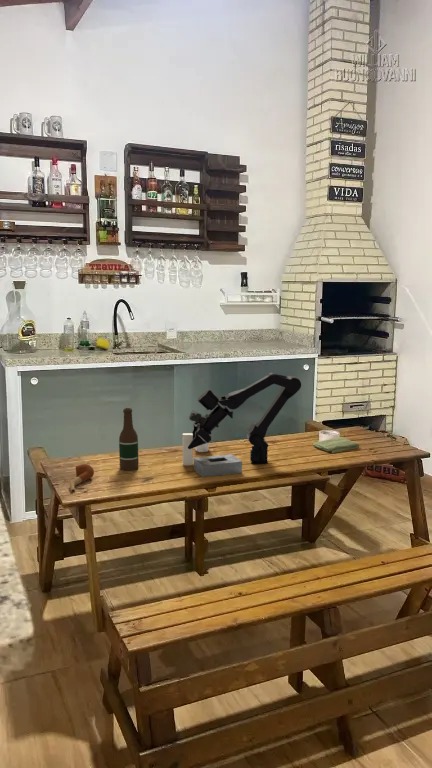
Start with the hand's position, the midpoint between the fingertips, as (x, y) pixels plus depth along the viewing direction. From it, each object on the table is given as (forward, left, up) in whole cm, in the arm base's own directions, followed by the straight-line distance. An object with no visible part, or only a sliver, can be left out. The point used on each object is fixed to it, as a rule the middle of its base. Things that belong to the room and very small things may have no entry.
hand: (187, 445), depth 260 cm
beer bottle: (+23, +5, -8) cm, 25 cm away
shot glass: (-5, -21, -8) cm, 23 cm away
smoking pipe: (+37, +24, -8) cm, 45 cm away
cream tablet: (0, 0, -8) cm, 8 cm away
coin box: (-12, +9, -8) cm, 17 cm away
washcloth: (-64, -25, -8) cm, 69 cm away
